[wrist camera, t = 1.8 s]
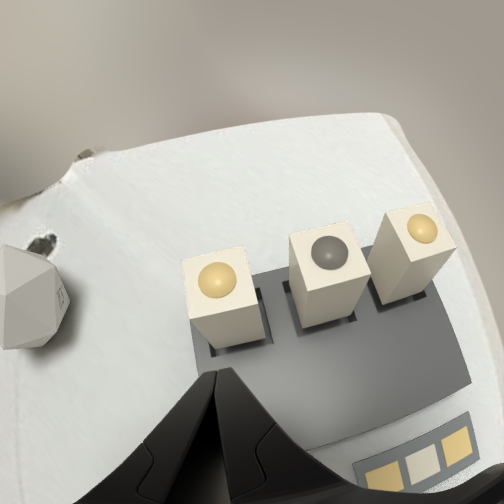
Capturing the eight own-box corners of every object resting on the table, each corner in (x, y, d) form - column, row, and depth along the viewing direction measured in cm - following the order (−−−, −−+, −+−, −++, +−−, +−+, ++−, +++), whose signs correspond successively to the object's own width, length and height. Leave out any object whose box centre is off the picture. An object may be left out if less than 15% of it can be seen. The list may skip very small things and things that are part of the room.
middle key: (350, 315, 19) (372, 271, 14) (302, 328, 19) (308, 289, 14) (334, 271, 21) (348, 218, 16) (288, 283, 21) (288, 232, 16)
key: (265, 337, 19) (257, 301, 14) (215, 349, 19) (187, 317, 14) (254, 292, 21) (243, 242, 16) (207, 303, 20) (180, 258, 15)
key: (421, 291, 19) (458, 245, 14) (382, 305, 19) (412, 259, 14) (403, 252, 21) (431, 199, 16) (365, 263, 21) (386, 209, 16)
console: (451, 389, 18) (471, 382, 16) (226, 462, 18) (216, 467, 15) (399, 255, 24) (409, 235, 22) (196, 306, 24) (185, 290, 21)
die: (98, 343, 24) (61, 231, 20) (14, 390, 17) (-42, 275, 14) (66, 312, 29) (38, 222, 25) (-1, 347, 23) (-39, 254, 19)
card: (478, 459, 15) (480, 459, 14) (365, 514, 14) (366, 515, 14) (467, 411, 17) (469, 411, 17) (352, 463, 17) (353, 463, 16)
